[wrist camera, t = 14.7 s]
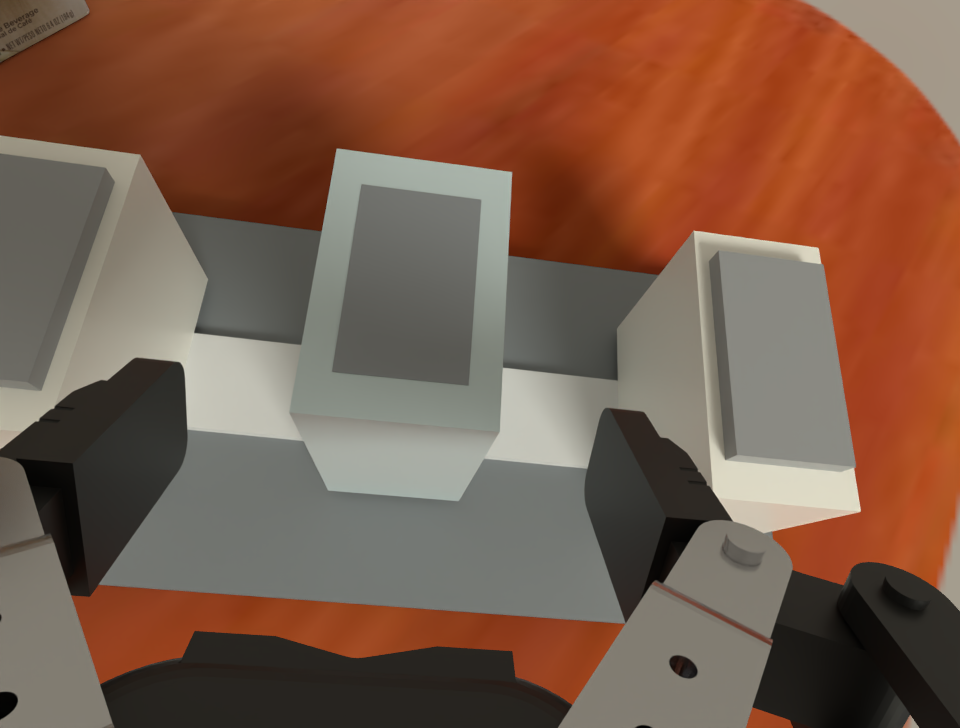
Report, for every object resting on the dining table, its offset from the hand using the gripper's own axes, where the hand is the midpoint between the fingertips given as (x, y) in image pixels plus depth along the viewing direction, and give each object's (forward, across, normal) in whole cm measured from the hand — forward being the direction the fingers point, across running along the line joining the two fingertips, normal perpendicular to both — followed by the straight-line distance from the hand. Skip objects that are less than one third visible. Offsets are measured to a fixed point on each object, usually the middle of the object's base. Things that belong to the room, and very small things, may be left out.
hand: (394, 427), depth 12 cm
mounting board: (+11, 0, +6) cm, 12 cm away
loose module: (+10, 0, +4) cm, 11 cm away
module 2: (+10, -10, +4) cm, 15 cm away
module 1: (+10, +10, +4) cm, 15 cm away
